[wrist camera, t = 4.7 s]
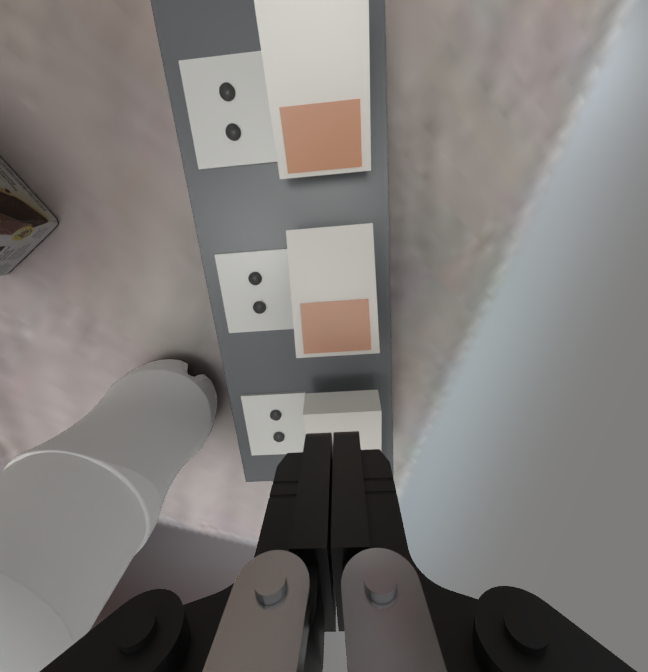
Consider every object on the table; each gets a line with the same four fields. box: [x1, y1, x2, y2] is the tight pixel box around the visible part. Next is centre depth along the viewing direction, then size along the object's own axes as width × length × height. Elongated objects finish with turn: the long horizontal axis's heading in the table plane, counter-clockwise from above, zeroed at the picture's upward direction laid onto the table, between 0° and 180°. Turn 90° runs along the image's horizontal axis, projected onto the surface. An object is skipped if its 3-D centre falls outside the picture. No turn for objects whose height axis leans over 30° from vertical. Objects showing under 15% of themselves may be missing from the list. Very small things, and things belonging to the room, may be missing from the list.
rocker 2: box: [286, 223, 380, 358], centre depth 17 cm, size 6×4×2 cm, turn 5°
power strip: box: [151, 0, 393, 482], centre depth 21 cm, size 26×10×6 cm, turn 5°
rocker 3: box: [303, 390, 382, 450], centre depth 19 cm, size 6×4×2 cm, turn 4°
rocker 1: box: [254, 0, 371, 179], centre depth 14 cm, size 6×4×2 cm, turn 4°
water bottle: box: [0, 359, 217, 672], centre depth 15 cm, size 7×7×25 cm
